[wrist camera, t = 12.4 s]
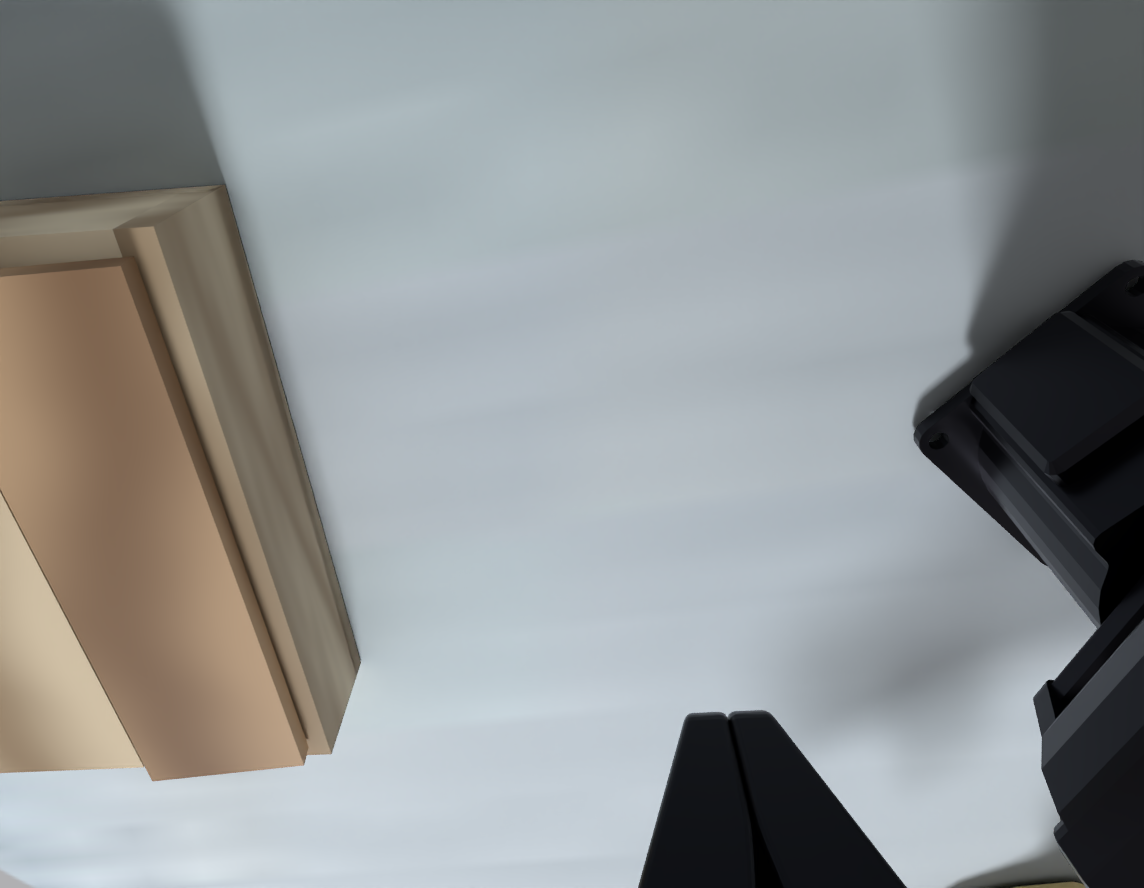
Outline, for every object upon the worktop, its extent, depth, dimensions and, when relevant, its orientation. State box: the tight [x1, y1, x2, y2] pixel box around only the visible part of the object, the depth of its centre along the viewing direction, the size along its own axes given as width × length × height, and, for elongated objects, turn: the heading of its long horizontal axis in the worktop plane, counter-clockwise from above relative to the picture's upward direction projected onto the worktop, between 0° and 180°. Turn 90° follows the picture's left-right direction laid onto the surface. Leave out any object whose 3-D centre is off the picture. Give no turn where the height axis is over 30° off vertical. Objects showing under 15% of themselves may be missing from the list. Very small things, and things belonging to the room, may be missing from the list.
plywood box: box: [0, 185, 361, 773], centre depth 20 cm, size 10×15×4 cm, turn 4°
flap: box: [0, 256, 309, 781], centre depth 18 cm, size 4×14×1 cm, turn 4°
